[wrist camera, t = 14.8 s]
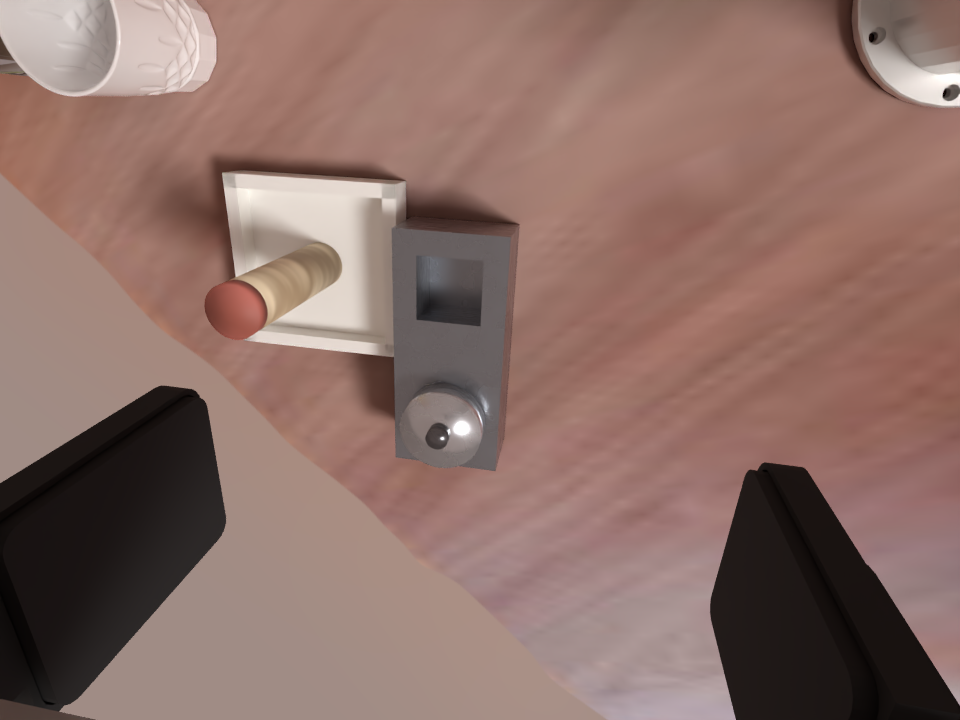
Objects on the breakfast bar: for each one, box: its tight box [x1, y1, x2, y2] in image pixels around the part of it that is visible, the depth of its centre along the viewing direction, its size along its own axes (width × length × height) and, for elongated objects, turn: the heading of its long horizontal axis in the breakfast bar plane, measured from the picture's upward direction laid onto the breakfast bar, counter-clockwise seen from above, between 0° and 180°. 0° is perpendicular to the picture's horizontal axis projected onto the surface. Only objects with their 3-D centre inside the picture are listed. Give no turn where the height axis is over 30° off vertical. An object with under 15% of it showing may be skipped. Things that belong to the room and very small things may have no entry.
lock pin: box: [205, 242, 342, 340], centre depth 38 cm, size 3×3×12 cm
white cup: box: [0, 0, 217, 97], centre depth 35 cm, size 8×8×10 cm
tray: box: [222, 170, 406, 357], centre depth 43 cm, size 13×13×2 cm
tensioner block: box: [392, 216, 519, 471], centre depth 41 cm, size 18×8×8 cm, turn 177°
